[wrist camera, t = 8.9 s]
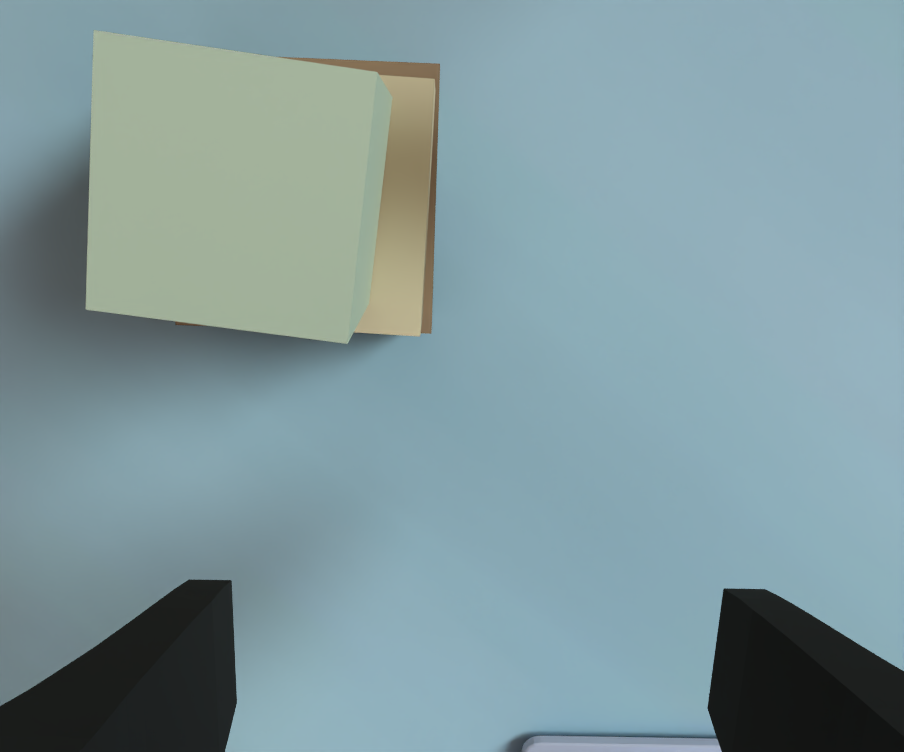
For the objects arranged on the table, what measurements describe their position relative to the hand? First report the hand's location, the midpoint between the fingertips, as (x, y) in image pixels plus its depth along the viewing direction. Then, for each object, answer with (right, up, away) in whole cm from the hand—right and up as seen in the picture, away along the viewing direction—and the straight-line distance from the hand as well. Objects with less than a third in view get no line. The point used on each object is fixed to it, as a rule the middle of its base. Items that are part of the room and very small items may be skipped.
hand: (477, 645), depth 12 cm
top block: (-4, +8, +4) cm, 9 cm away
